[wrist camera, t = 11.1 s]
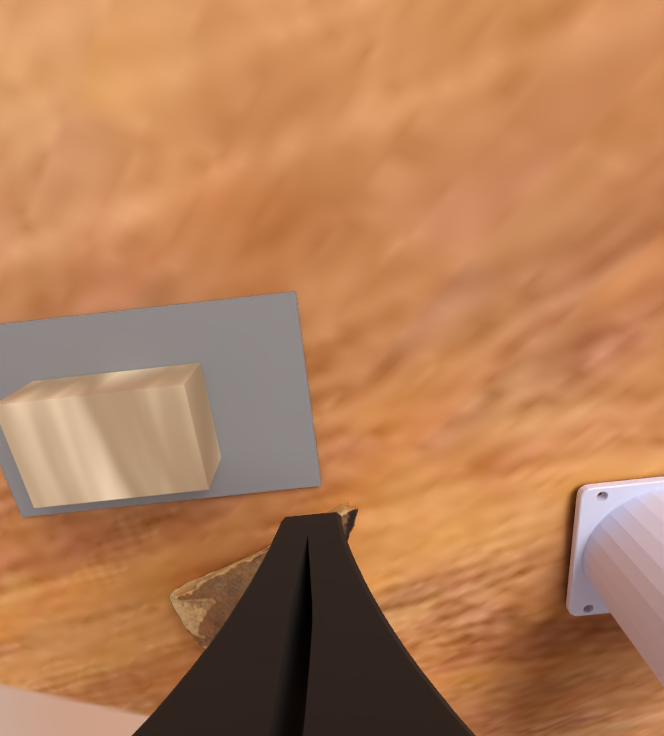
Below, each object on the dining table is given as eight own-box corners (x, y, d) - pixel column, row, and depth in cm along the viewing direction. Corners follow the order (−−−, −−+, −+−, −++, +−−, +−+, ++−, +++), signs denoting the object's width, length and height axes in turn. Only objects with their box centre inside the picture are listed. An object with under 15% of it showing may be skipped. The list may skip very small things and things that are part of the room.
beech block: (183, 384, 16) (-8, 405, 16) (208, 489, 18) (34, 508, 18) (201, 362, 18) (33, 380, 18) (221, 456, 20) (66, 473, 20)
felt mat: (295, 291, 18) (295, 292, 17) (321, 482, 21) (321, 485, 21) (-50, 329, 18) (-56, 331, 18) (26, 513, 21) (22, 517, 21)
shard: (355, 488, 22) (358, 512, 20) (420, 592, 24) (428, 621, 22) (170, 576, 23) (159, 605, 21) (249, 665, 26) (245, 698, 24)
